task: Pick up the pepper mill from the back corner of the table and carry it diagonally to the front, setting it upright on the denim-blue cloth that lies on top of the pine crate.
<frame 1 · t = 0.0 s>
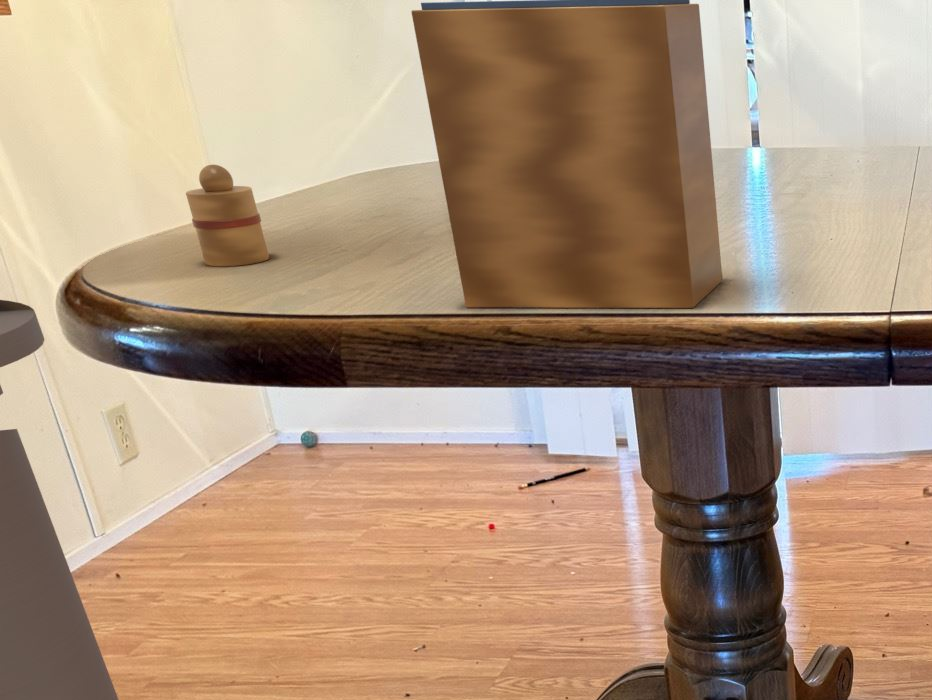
crate: (598, 293, 88), on the table
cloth: (560, 6, 79), resting on crate
pepper mill: (237, 260, 102), on the table
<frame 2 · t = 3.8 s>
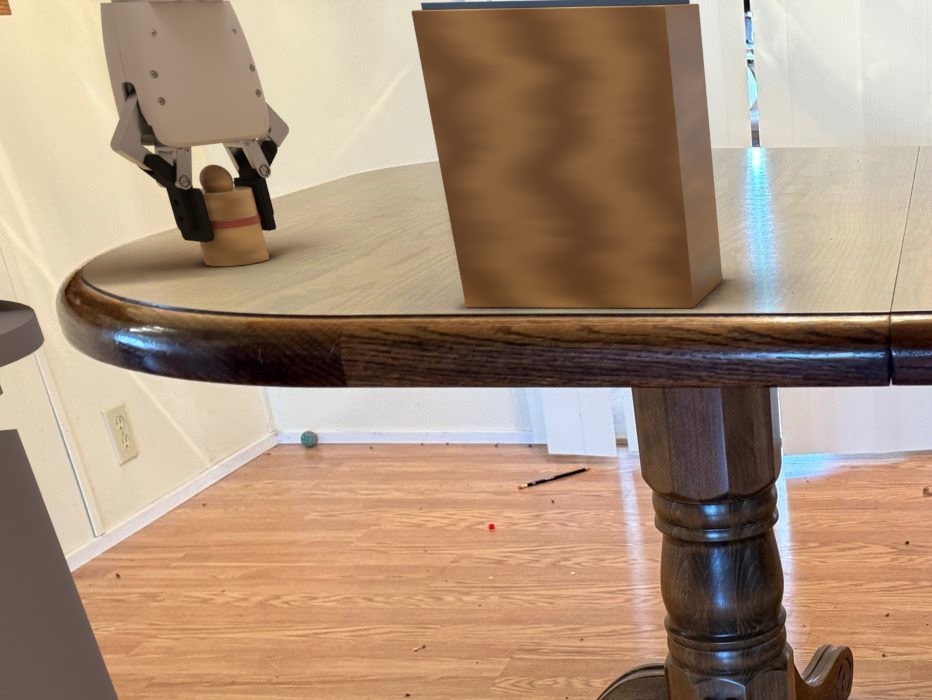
hand: (230, 232, 101), 2 cm above the table, tool pointing down, fingers closed on pepper mill, 5 cm apart
pepper mill: (237, 260, 102), on the table, touching gripper
everything else where it was.
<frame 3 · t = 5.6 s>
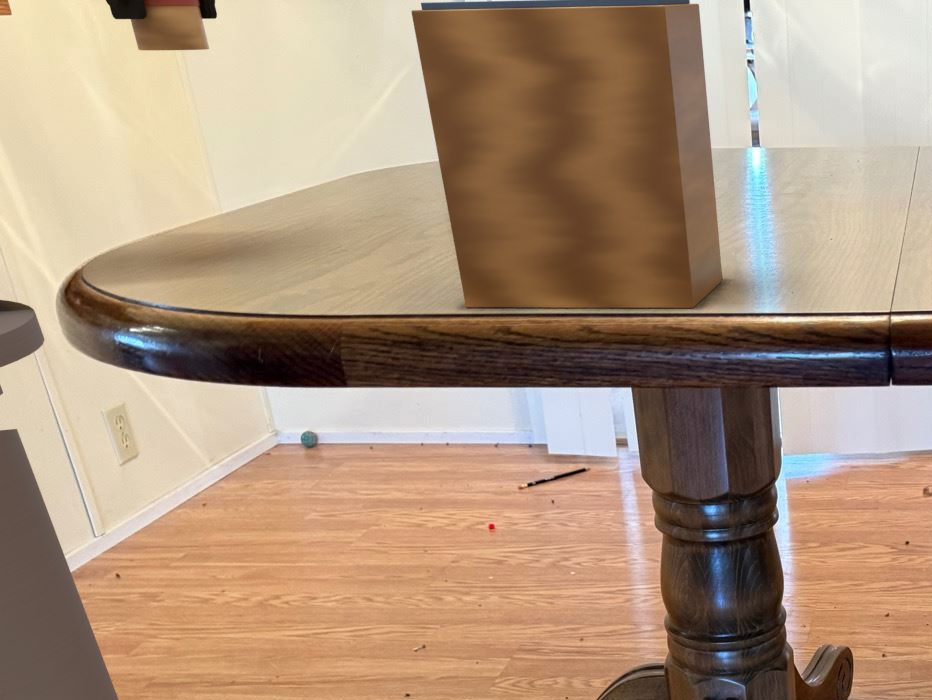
hand: (165, 15, 93), 18 cm above the table, tool pointing down, fingers closed on pepper mill, 5 cm apart
pepper mill: (174, 49, 94), point 16 cm above the table, touching gripper
everything else where it was.
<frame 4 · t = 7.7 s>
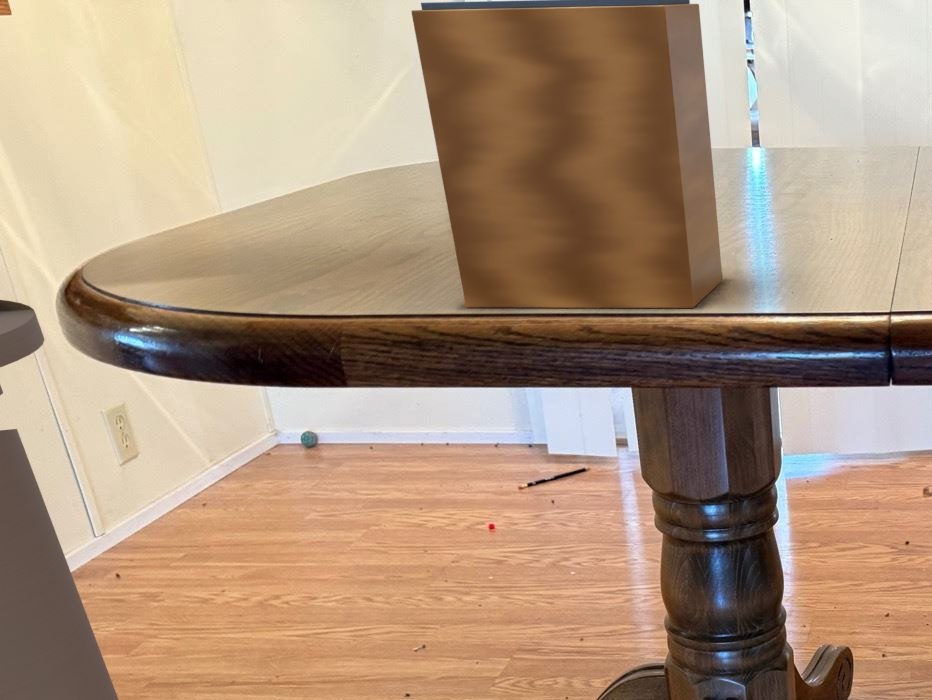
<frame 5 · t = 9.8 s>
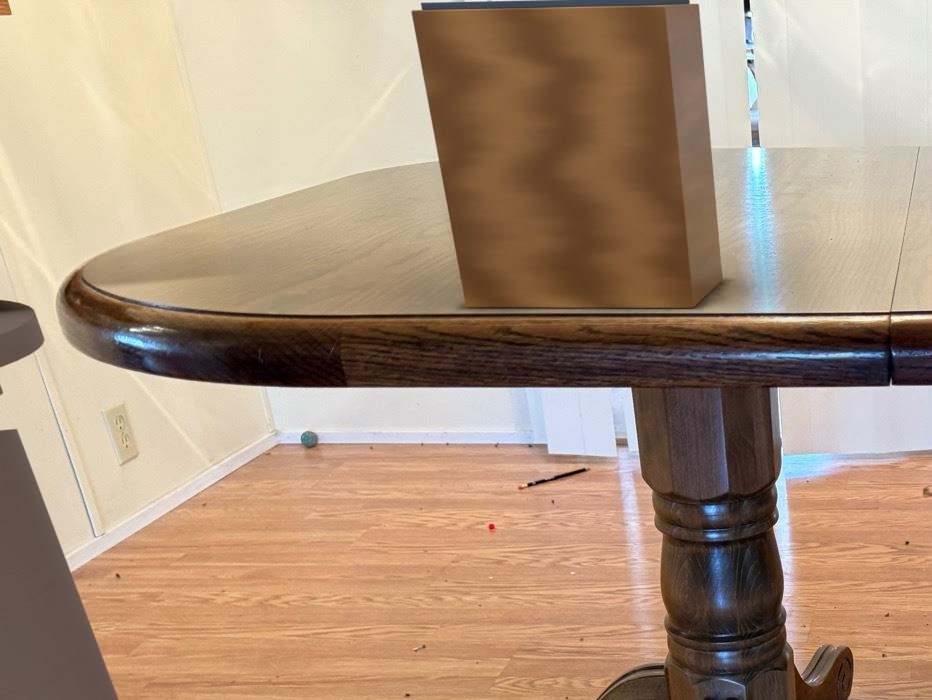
when the fingers open (21 cm above the table, at t = 11.5 s): pepper mill stays where it is, resting on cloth.
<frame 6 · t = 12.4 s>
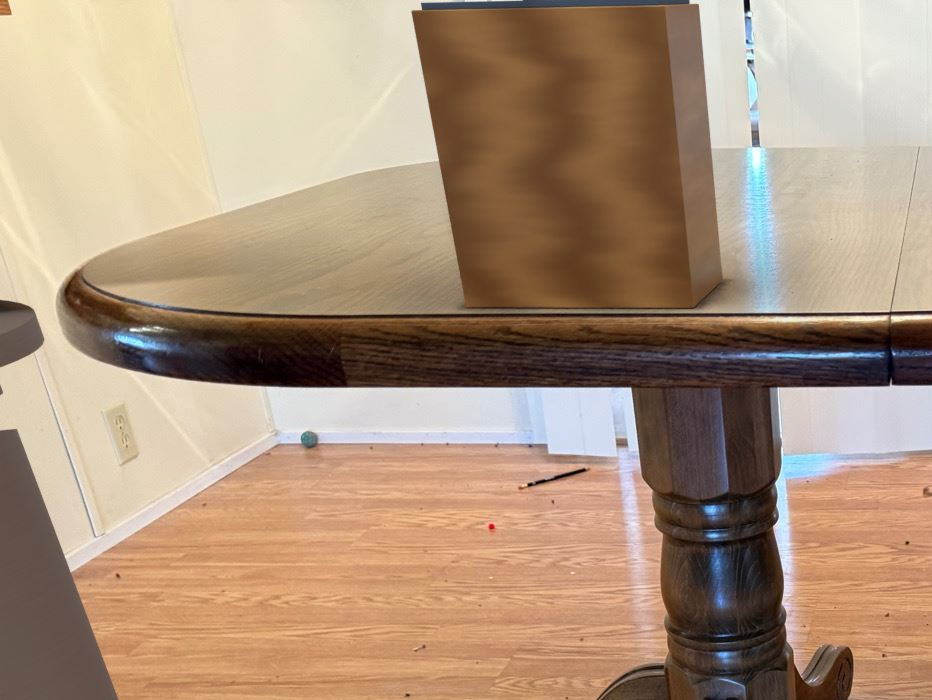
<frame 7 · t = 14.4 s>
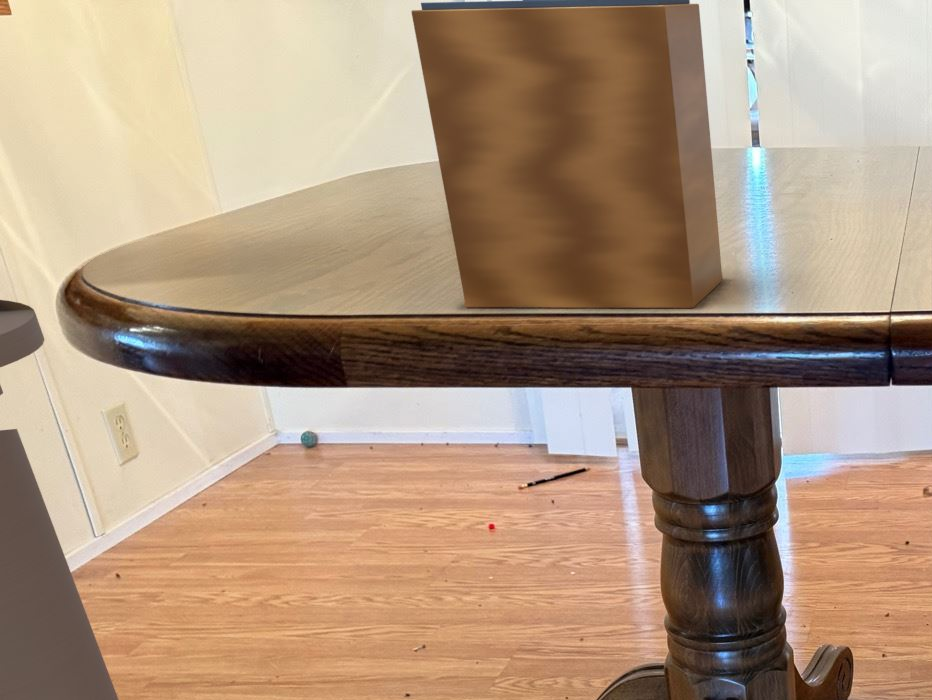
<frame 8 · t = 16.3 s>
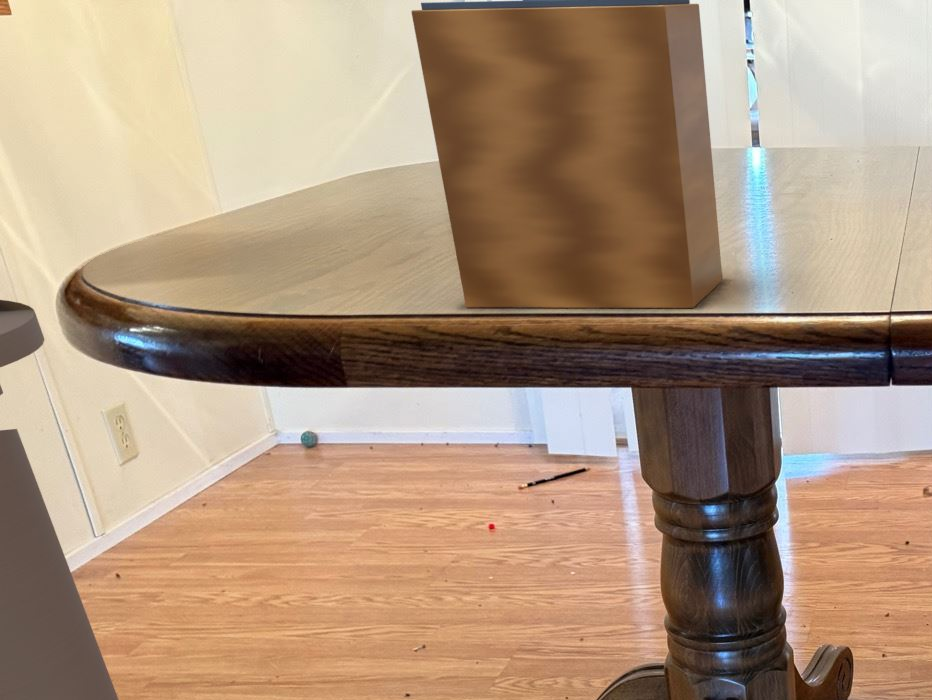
at the end: pepper mill inside the target area on the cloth (0.1 cm from its centre), point 0.4 cm above the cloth's base; pepper mill tilted 0°; pepper mill moved 41.2 cm from its start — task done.
